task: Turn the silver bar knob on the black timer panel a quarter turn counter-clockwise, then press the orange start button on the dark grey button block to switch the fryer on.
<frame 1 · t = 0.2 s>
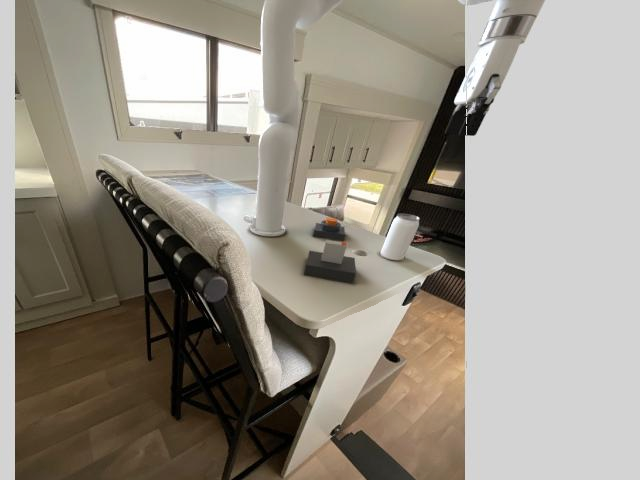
hand: (458, 134, 61), 31 cm above the breakfast bar, tool pointing down, fingers open, 9 cm apart
timer knob: (333, 251, 64), point 6 cm above the breakfast bar, hinge at 0.0°
start button: (331, 221, 86), point 4 cm above the breakfast bar, slide at 0.1 cm
timer panel: (328, 271, 67), on the breakfast bar
button block: (328, 234, 89), on the breakfast bar
can: (391, 256, 76), on the breakfast bar
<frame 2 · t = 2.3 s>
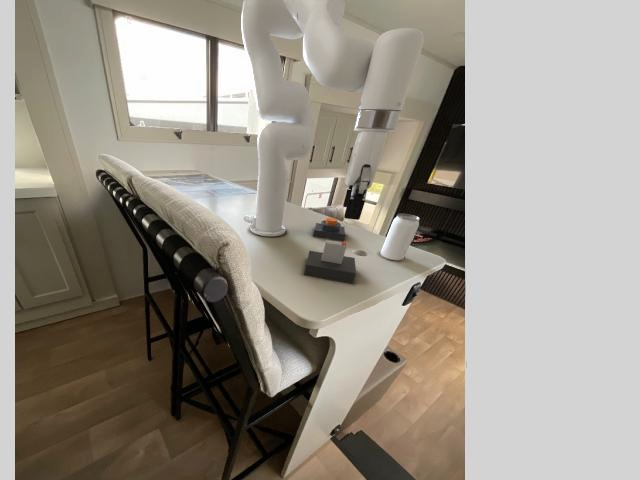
hand: (350, 212, 58), 15 cm above the breakfast bar, tool pointing down, fingers open, 9 cm apart
nothing on the breakfast bar moved.
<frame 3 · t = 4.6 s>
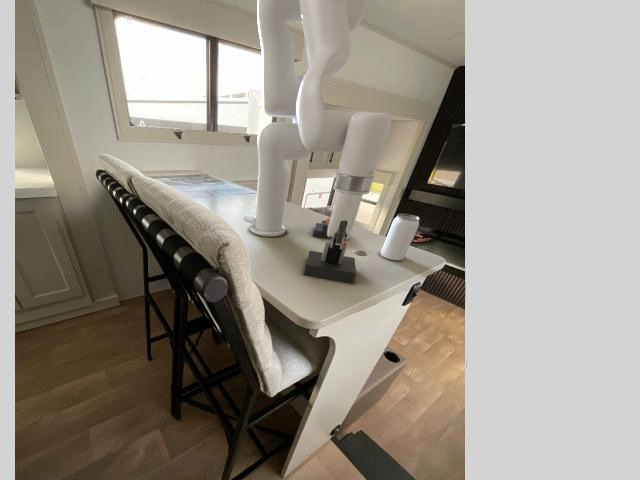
hand: (331, 259, 65), 3 cm above the breakfast bar, tool pointing down, fingers closed on timer knob, 2 cm apart
timer knob: (333, 251, 64), point 6 cm above the breakfast bar, hinge at 0.0°, touching gripper
everything else where it was.
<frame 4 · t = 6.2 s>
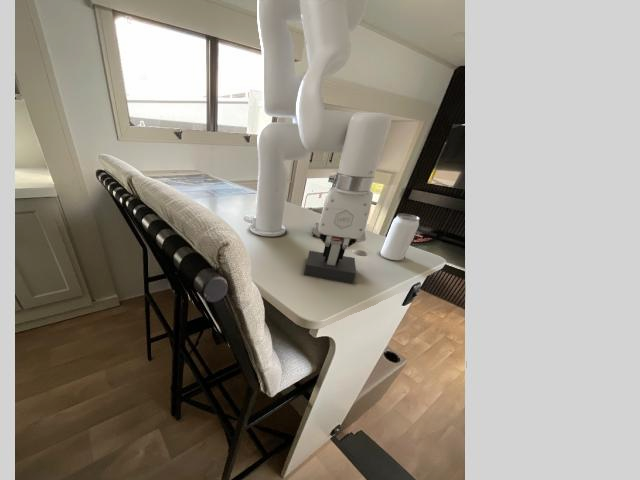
hand: (331, 259, 65), 3 cm above the breakfast bar, tool pointing down, fingers closed on timer knob, 2 cm apart
timer knob: (333, 251, 64), point 6 cm above the breakfast bar, hinge at 89.8°, touching gripper
everything else where it was.
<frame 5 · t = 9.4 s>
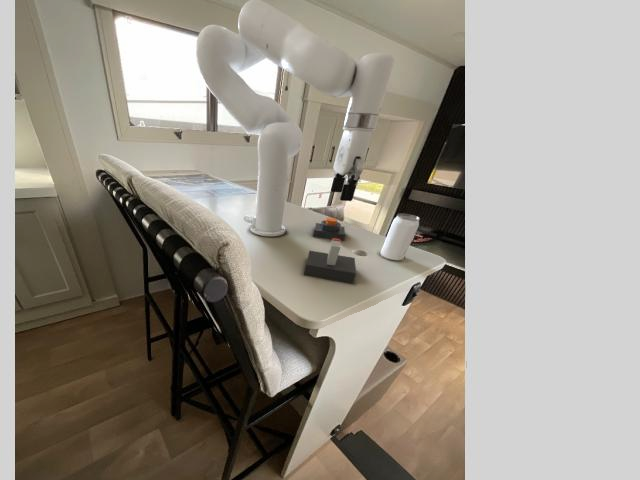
hand: (340, 196, 72), 15 cm above the breakfast bar, tool pointing down, fingers open, 9 cm apart
timer knob: (333, 251, 64), point 6 cm above the breakfast bar, hinge at 89.7°
everything else where it was.
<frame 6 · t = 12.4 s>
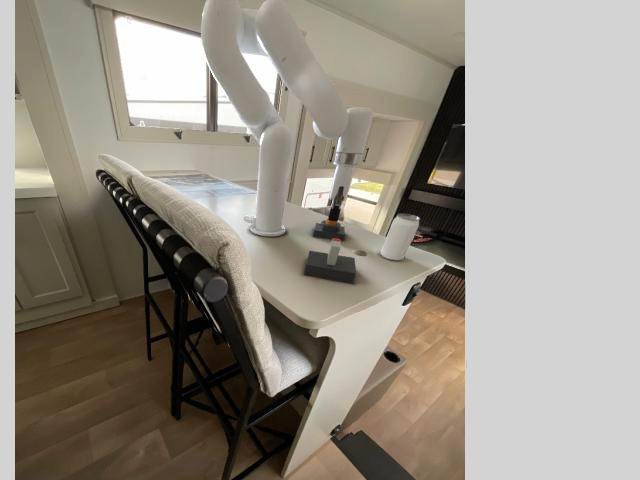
hand: (332, 220, 86), 5 cm above the breakfast bar, tool pointing down, fingers closed
start button: (331, 222, 86), point 4 cm above the breakfast bar, slide at -0.2 cm, touching gripper
everything else where it was.
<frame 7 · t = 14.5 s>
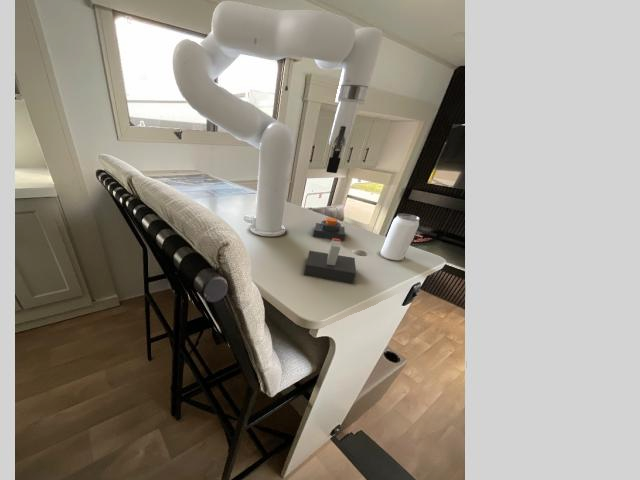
hand: (331, 172, 77), 20 cm above the breakfast bar, tool pointing down, fingers closed
start button: (331, 221, 86), point 4 cm above the breakfast bar, slide at 0.1 cm
everything else where it was.
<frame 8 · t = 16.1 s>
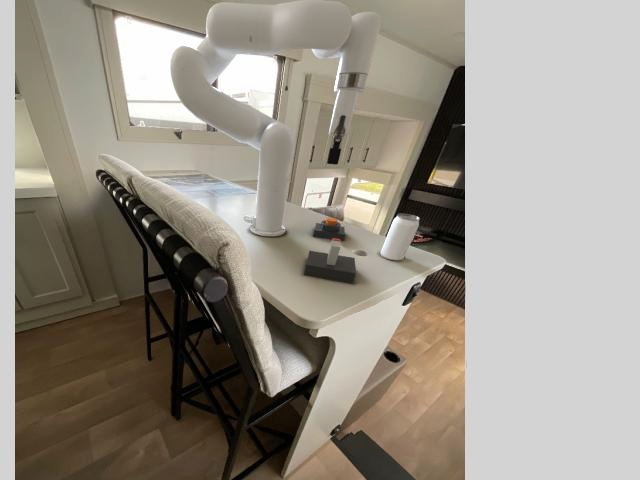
hand: (332, 163, 76), 22 cm above the breakfast bar, tool pointing down, fingers closed
nothing on the breakfast bar moved.
at the end: timer knob at +90° (first picture: +0°); start button pushed in 1.0 cm at the most during the clip, back to where it started at the end; start button slide at 0.1 cm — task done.
